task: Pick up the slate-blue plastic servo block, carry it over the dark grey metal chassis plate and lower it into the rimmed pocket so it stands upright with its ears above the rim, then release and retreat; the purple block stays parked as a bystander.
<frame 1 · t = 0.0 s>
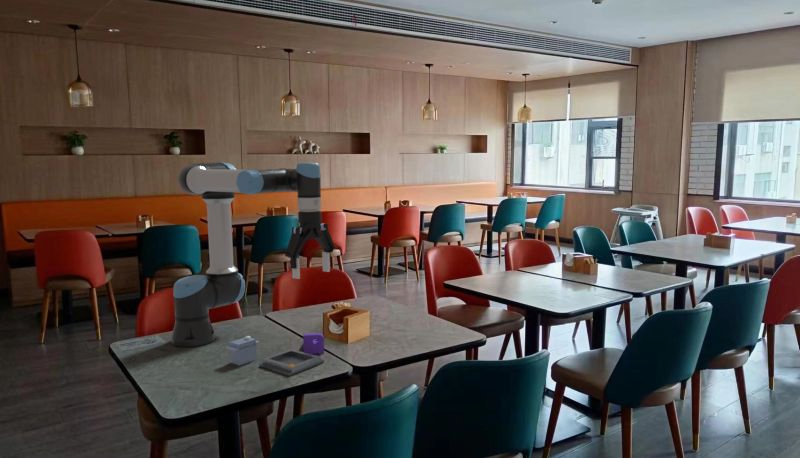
hand: (311, 274, 198), 28 cm above the table, fingers open, 13 cm apart
purple block: (313, 349, 211), on the table
servo: (243, 361, 198), on the table
chassis: (291, 364, 194), on the table
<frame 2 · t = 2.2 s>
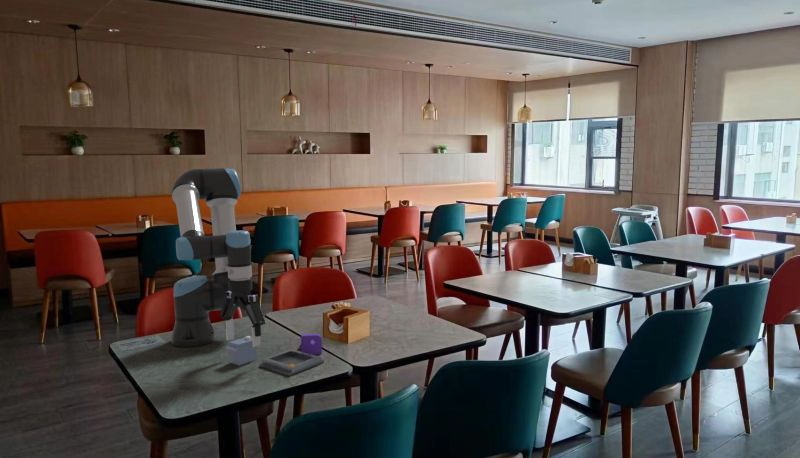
hand: (243, 342, 197), 6 cm above the table, fingers open, 13 cm apart
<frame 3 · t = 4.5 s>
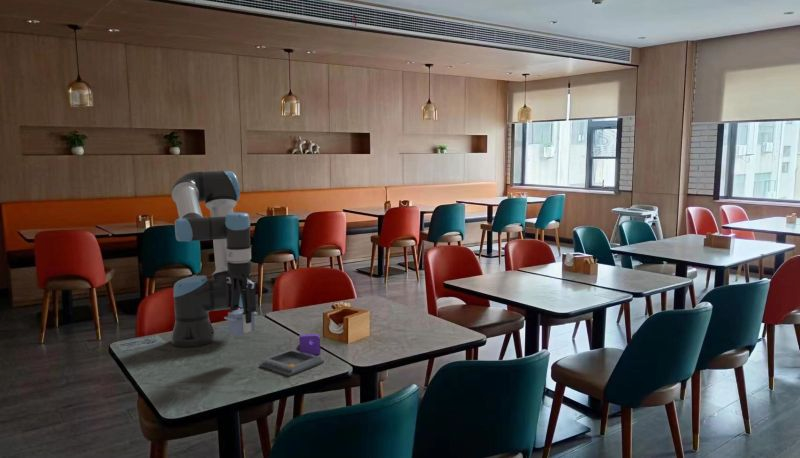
hand: (242, 330, 198), 10 cm above the table, fingers closed on servo, 4 cm apart
servo: (241, 332, 198), point 10 cm above the table, touching gripper
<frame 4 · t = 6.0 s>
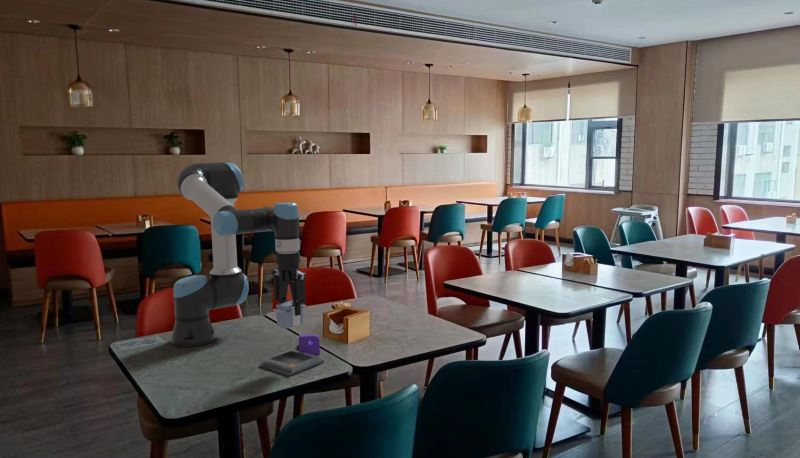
hand: (290, 323, 193), 14 cm above the table, fingers closed on servo, 4 cm apart
servo: (290, 324, 192), point 13 cm above the table, touching gripper
when the fingers open (2 cm above the table, at t = 7.6 s): servo stays where it is, resting on chassis.
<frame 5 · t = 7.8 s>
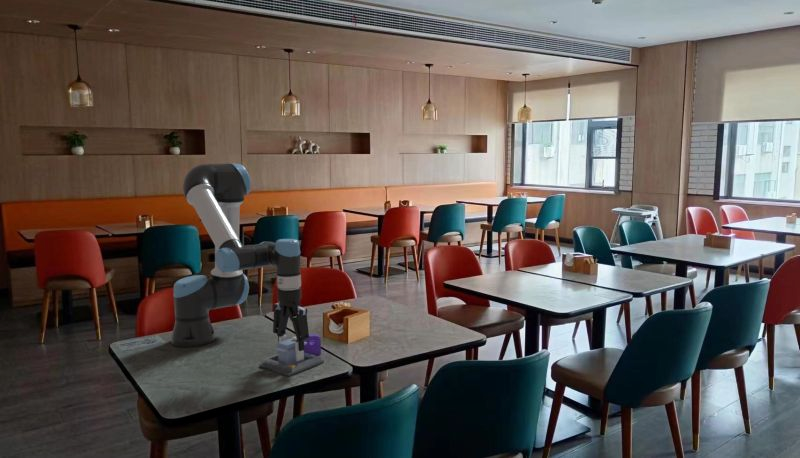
hand: (291, 357, 194), 2 cm above the table, fingers open, 7 cm apart
servo: (291, 362, 194), point 1 cm above the table, touching chassis
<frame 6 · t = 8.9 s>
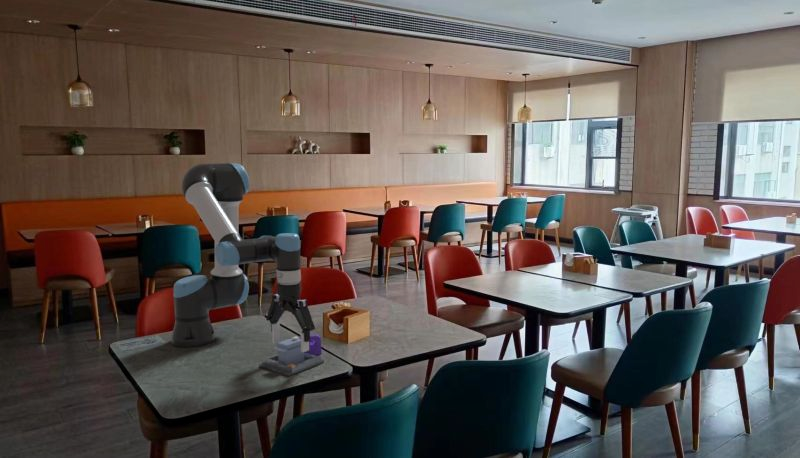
hand: (290, 346, 194), 6 cm above the table, fingers open, 13 cm apart
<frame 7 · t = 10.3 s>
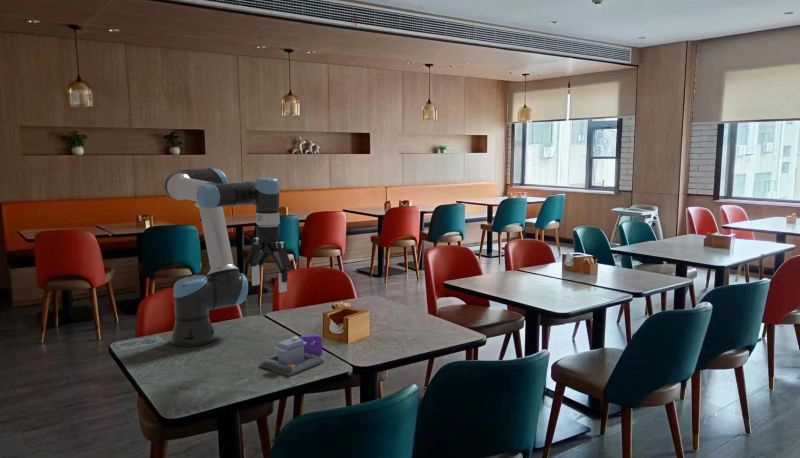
hand: (269, 288, 201), 23 cm above the table, fingers open, 13 cm apart
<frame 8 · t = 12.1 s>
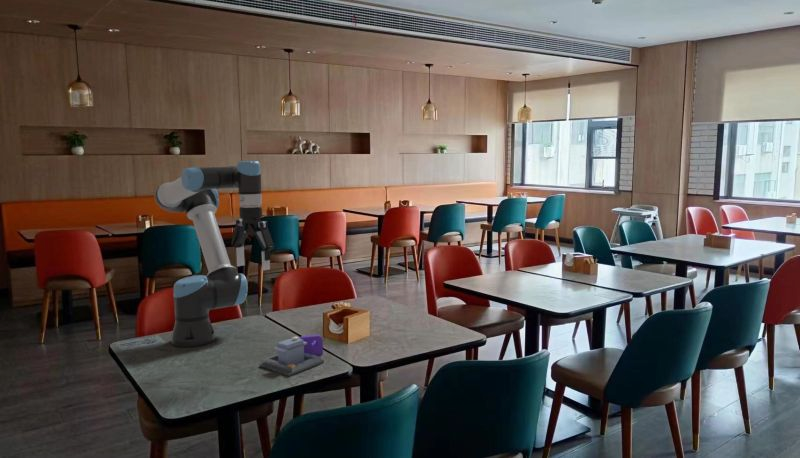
hand: (253, 267, 208), 29 cm above the table, fingers open, 13 cm apart
at the end: servo 0.2 cm off-centre on the chassis, point 0.8 cm above the chassis's base; servo tilted 0°; the gripper is holding nothing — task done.
